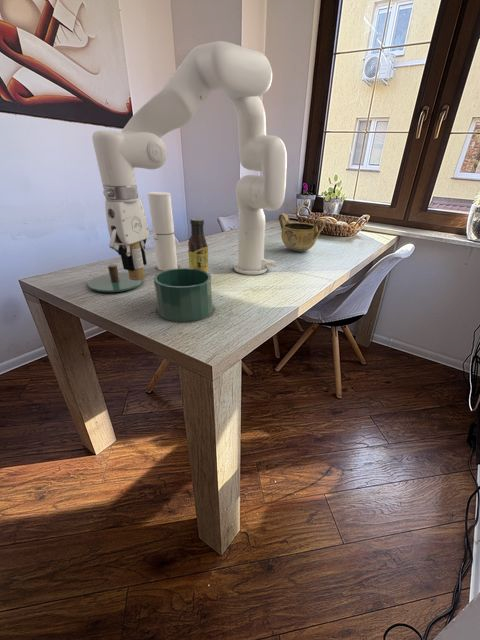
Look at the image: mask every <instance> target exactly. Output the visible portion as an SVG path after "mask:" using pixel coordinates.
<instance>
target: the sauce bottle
mask: <svg viewBox="0 0 480 640" xmlns="http://www.w3.org/2000/svg"><path fill="white" fill-rule="evenodd" d="M189 222H190V227H191V230H190V231H191V232H190V234H191V235H190V237H189V239H188V243H187V246H188V247H187V248H188V250H187V251H188V252H187V253H188V268H191V269H198V270H203V271H205V272H207V273H209V246H208V244H207V240H206V237H205V232H204V225H205V220H204V219H203V218H195V217H194V218H190V221H189Z"/></svg>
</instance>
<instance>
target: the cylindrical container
mask: <svg viewBox="0 0 480 640" xmlns="http://www.w3.org/2000/svg"><path fill="white" fill-rule="evenodd" d="M147 197H148V205H149V213H150V220H151V226H152V227H151V228H152V235H153V236H152V237H153V243H154V250H155V258H156V267H157V270H159V271H166V270H169V269H176V268H178V257H177V247H176V237H175V227H174V216H173V205H172V196H171V193H170V192H167V191H149V192H147Z"/></svg>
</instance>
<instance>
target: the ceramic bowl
mask: <svg viewBox="0 0 480 640" xmlns="http://www.w3.org/2000/svg"><path fill="white" fill-rule="evenodd" d="M278 221H279V225H280V229H281V241H282V243H283V245H284V246H285V247H286V248H287V249H289V250H290V251H293V252H296V253H297V252H298V253H303V252H306V251H309V250H310V249H311V248H313V247H314V246H315V244H316V242H317V239H318V238H319V235H320V234H321V232H322V230H323V229H324V228H325V226H326V224H327V220H326V219H325V218H320V219H318V220H316V221H315V223H314V224H312V223H307V222H298V221H297V222H296V221H295V222H290V218H289V216H288V214H287V213H280V214H279V216H278ZM320 222H321V225H320V227H319V228H318V225H319V224H320Z"/></svg>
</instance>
